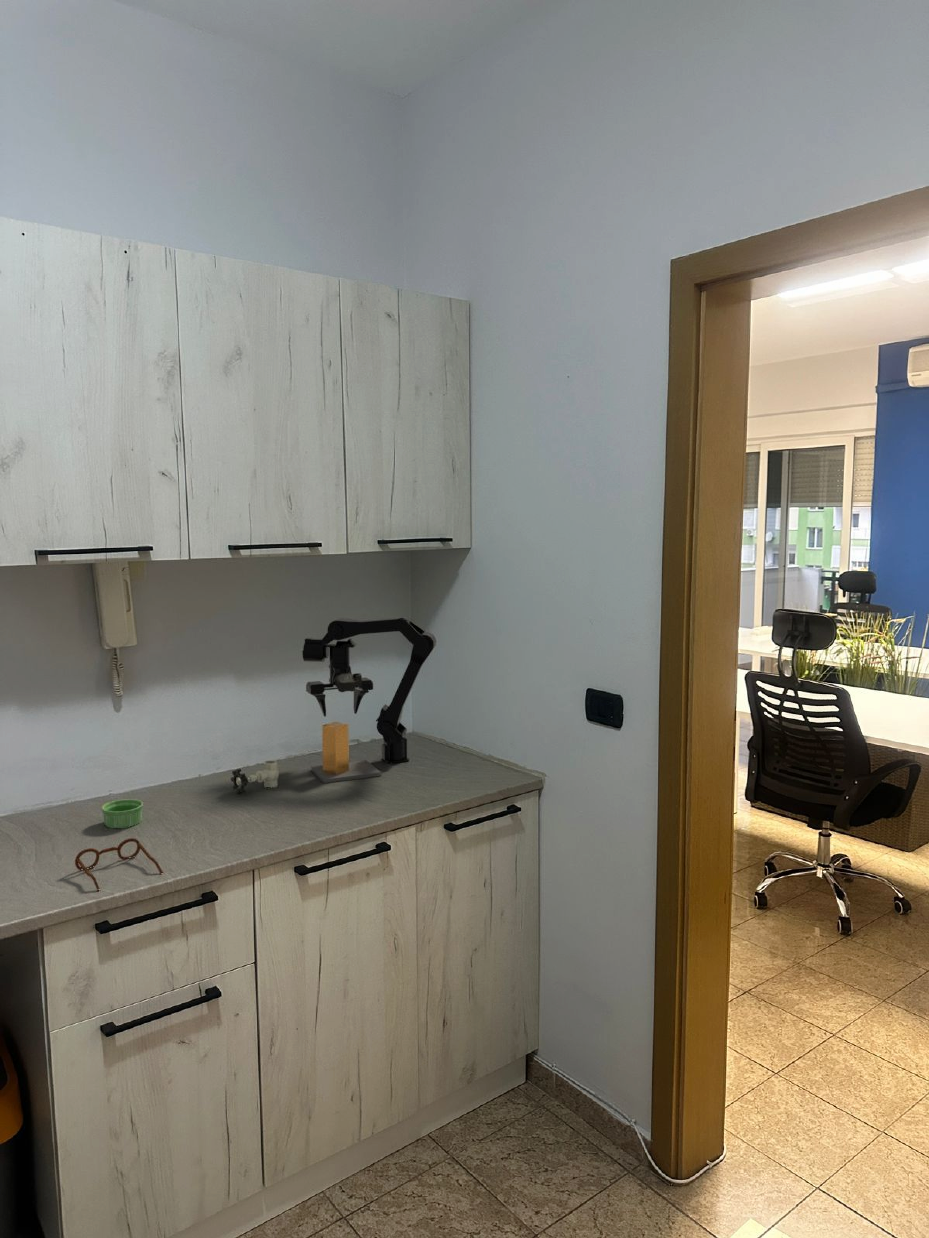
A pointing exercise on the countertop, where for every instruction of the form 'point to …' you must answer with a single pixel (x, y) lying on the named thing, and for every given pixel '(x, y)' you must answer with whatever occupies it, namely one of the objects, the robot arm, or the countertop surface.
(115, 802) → the ramekin
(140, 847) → the glasses
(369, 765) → the rubber mat
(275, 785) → the valve
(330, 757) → the wooden block
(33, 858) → the countertop surface
